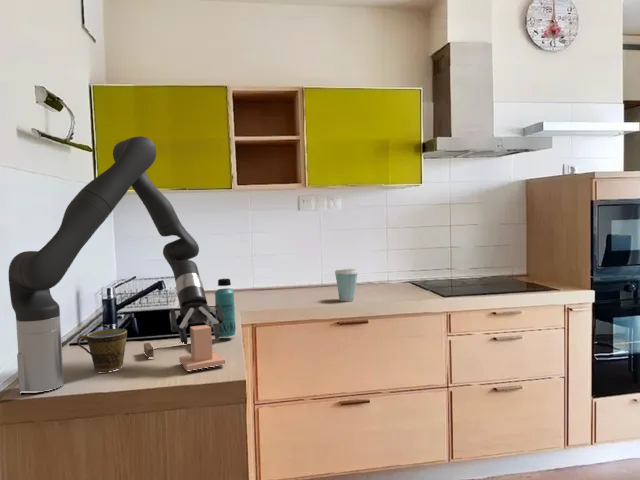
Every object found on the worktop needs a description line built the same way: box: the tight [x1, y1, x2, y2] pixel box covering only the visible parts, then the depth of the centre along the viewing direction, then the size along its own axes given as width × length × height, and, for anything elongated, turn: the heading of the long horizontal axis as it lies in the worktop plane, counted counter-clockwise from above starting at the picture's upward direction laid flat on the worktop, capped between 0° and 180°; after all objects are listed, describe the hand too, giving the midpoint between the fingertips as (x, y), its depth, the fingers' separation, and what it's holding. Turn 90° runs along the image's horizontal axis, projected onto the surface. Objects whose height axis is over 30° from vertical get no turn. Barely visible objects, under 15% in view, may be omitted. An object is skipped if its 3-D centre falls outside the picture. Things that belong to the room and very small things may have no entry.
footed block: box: [178, 324, 226, 370], centre depth 134 cm, size 10×10×10 cm
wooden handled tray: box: [143, 342, 155, 358], centre depth 149 cm, size 16×8×3 cm, turn 117°
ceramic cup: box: [76, 328, 128, 373], centre depth 134 cm, size 13×10×10 cm
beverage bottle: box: [214, 278, 237, 338], centre depth 163 cm, size 6×7×20 cm
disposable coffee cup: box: [334, 267, 359, 302], centre depth 230 cm, size 11×11×15 cm
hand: (201, 340), depth 133 cm, fingers open, 8 cm apart
